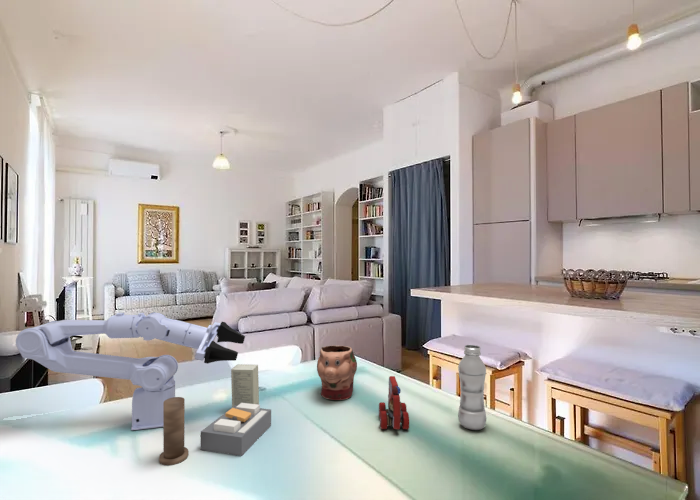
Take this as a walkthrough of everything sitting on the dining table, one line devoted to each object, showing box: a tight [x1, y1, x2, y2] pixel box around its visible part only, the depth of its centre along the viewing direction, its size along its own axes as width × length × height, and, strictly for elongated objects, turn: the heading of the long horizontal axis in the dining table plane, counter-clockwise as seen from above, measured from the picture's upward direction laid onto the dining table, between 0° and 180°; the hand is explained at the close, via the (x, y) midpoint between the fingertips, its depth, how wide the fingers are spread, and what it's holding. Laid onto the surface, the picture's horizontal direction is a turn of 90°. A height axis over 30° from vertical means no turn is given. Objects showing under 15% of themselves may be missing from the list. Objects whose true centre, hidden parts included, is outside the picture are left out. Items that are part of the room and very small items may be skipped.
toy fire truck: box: [378, 375, 410, 430], centre depth 94 cm, size 7×12×10 cm, turn 179°
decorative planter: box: [316, 344, 358, 401], centre depth 113 cm, size 20×12×14 cm, turn 178°
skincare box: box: [230, 363, 260, 408], centre depth 100 cm, size 6×4×12 cm
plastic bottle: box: [457, 344, 487, 431], centre depth 92 cm, size 6×7×20 cm
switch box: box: [200, 403, 272, 457], centre depth 87 cm, size 10×14×5 cm
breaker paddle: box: [225, 407, 251, 422], centre depth 87 cm, size 5×3×2 cm, turn 76°
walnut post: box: [158, 396, 190, 466], centre depth 78 cm, size 6×6×12 cm
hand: (240, 347), depth 97 cm, fingers open, 7 cm apart
